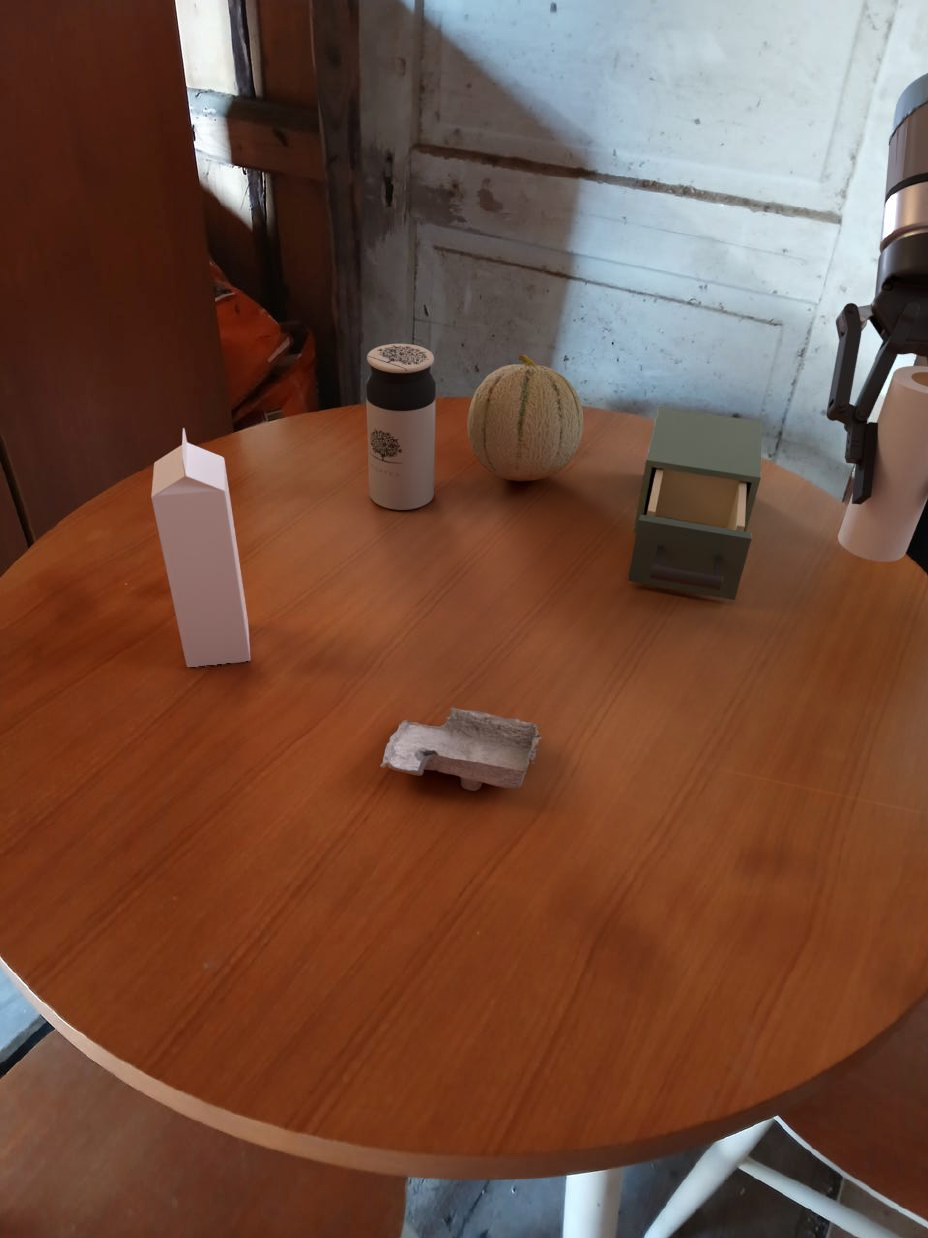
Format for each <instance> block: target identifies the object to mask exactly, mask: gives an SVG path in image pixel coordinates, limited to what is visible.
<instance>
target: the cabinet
mask: <svg viewBox="0 0 928 1238" xmlns="http://www.w3.org/2000/svg"><path fill="white" fill-rule="evenodd" d="M762 439H763V421H761V420H754V419H745V418H740V417H739V418H738V417H733V416H726V415H718V414H712V413H705V412H698V411H690V410H684V409H677V408H669V407H665V406H664V407H662V406H658V408H657V412H656V417H655V421H654V425H653V429H652V433H651V438H650V442H649V446H648V449H647V450H648V451H647V456H646V459H645V464H644V470H643V475H642V480H641V481H642V482H641V487H640V493H639V498H638V504H637V509H636V515H635V520H634V526H633V532H634V533H636V532H637V526H638V521H639V516H640V514H641V515H647V511H648V507H649V502H650V497H651V492H652V488H653V483H654V478H655V473H656V469H657V468H662V469H668V470H674V471H681V472H687V473H694V474H700V475H706V476H713V477H719V478H726V479H732V480H738V481H745V482H747V487H746V509H745V528H744V531H743V532H748V527H749V524H750V520H751V516H752V513H753V510H754V505H755V501H756V498H757V494H758V491H759V487H760V483H761V479H762V450H763V449H762V447H763V446H762Z"/></svg>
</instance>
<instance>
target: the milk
mask: <svg viewBox="0 0 928 1238" xmlns="http://www.w3.org/2000/svg"><path fill="white" fill-rule="evenodd" d="M181 437H182V440H181V441H182V442H181V445H179V446H178V447H176V448H175V449H173V450H171V451H170V452H168V453H167V454H166V455H164V456H162V457H161V458H159V459H157V460H156V461H154V463H153V471H152V472H153V473H152V484H151V494H150V495H151V496H150V497H151V503H152V509H153V512H154V513H153V514H154V517H155V521H156V527H157V532H158V536H159V541H160V545H161V551H162V555H163V561H164V565H165V570H166V574H167V579H168V585H169V589H170V593H171V598H172V603H173V609H174V614H175V619H176V622H177V623H176V624H177V627H178V633H179V637H180V642H181V647H182V651H183V656H184V661H185V666H186V668H187V667H196V668H199V667H198V666H204V665H205V667H207V666H206V665H214V666H218V665H217V664H222V665H227V664H226V663H231V664H238V663H246V661H248V662H251V647H250V646H251V645H250V643H251V642H250V630H249V618H248V612H247V606H246V597H245V590H244V585H243V577H242V571H241V564H240V563H241V562H240V556H239V550H238V543H237V542H238V541H237V537H236V529H235V523H234V515H233V510H232V509H233V508H232V501H231V496H230V489H229V482H228V475H227V467H226V461H225V457H223V456H221V455H219V454H217V453H214V452H211V451H209V450H207V449H205V448H202V447H199V446H197V445H194V444H192V443H190V442H188V439H187V434H186V429H185V427H183V428H182V436H181Z"/></svg>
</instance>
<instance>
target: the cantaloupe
mask: <svg viewBox="0 0 928 1238" xmlns="http://www.w3.org/2000/svg"><path fill="white" fill-rule="evenodd" d="M518 360H519V361H522V362H523V363H512V364H509V365H503V366H501V367H499V368H497V369H496V370H494V371H493V372H490V373H489V374H488V375H487V376H486V377H485V378H484V379H483V381H482V382H481V383H480V385H479V386H478V387H477V388H476V390H475V392H474V394H473V398H472V399H471V402H470V406H469V410H468V414H467V437H468V440H469V443H470V447H471V450H472V452H473V453H474V455H475V457H476V458H477V459H478V462H480V464H481V465H482V466H483V467H484V468H486V470H488V471H489V472H490V473H492V474H494V475H495V476H497V477H498V478H500V479H503V480H506V481H513V482H514V481H515V482H527V481H528V482H530V481H537V480H543V479H547V478H549V477H551V476H553V475H555V474H557V473H559V472H560V471H561V470H562V469H563V468H565V467H566V466H567V465H568V464H569V463H570V462H571V460H572V459H573V458H574V457H575V455H576V452H577V451H578V449H579V446H580V442H581V440H582V436H583V432H584V414H583V413H584V412H583V406H582V403H581V400H580V398H579V395H578V392H577V391H576V389H575V388H574V387H573V385H572V383H571V382H570V381H569V379H567V378H566V376H564V375H563V374H562V373H560V372H558V371H557V370H555V369H553V368H551V367H548V366H544V365H541V364H540V365H539V364H537V363H535V362H534V361H533V360H532V359H531V358H530V357H529V356H527V355H525V354H519V358H518Z"/></svg>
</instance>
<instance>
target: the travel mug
mask: <svg viewBox="0 0 928 1238" xmlns="http://www.w3.org/2000/svg"><path fill="white" fill-rule="evenodd" d="M366 360H367V362H368V364H369V366H370V373H369V375H368V377H367V379H366V381H365V399H366V400H365V401H366V426H367V427H366V428H367V456H368V457H367V459H368V484H369V485H368V486H369V489H368V490H369V497H370V499H371V500H372V501H373V502H374V503H375V504H376V505H378V506H381V507H383V508H386V509H390V510H397V511H402V510H403V511H407V510H414V509H418V508H421V507H424V506H425V505H428V504H429V503H430V502H431V501H432V500H433V498H434V497H435V459H436V458H435V457H436V455H435V453H436V451H435V450H436V442H435V441H436V400H437V399H436V396H437V394H436V393H437V392H436V391H437V388H436V387H437V383H436V381H435V379H434V377H433V375H432V373H431V367H432V365H433V363H434V361H435V356H434V354H433V353H432V352H431V351H430V350H429V349H427V348H425V347H423V346H420V345H417V344H409V343H389V344H383V345H380V346H377V347H374V348H373V349H371V350H370V351H369V352H368V353H367V356H366Z"/></svg>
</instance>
